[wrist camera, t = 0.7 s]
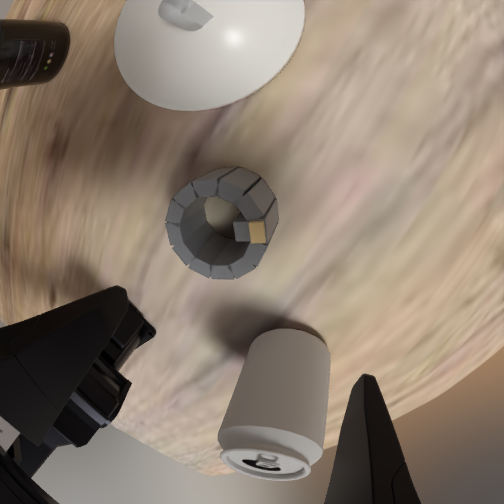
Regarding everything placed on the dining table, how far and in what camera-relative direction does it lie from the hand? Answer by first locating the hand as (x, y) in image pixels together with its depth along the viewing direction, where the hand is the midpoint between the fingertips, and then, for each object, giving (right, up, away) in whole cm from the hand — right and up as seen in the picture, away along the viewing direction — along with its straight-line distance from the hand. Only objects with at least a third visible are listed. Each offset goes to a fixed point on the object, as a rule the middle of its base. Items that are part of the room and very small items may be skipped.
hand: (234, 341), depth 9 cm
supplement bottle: (-19, +23, +8) cm, 31 cm away
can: (+4, -6, +16) cm, 18 cm away
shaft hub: (-3, +19, +5) cm, 20 cm away
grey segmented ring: (-1, +6, +11) cm, 13 cm away
